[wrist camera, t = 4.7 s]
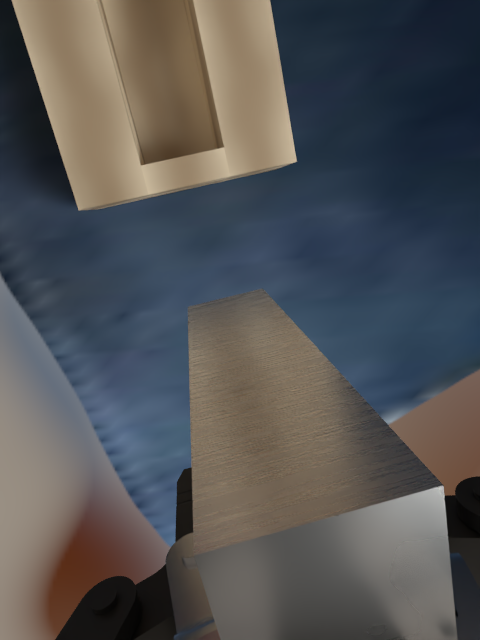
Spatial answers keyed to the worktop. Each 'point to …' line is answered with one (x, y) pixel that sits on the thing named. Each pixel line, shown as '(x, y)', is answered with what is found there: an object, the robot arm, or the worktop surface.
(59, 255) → the worktop surface
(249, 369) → the grey stone slab
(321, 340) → the worktop surface
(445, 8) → the worktop surface
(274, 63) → the wooden l-shaped stand
